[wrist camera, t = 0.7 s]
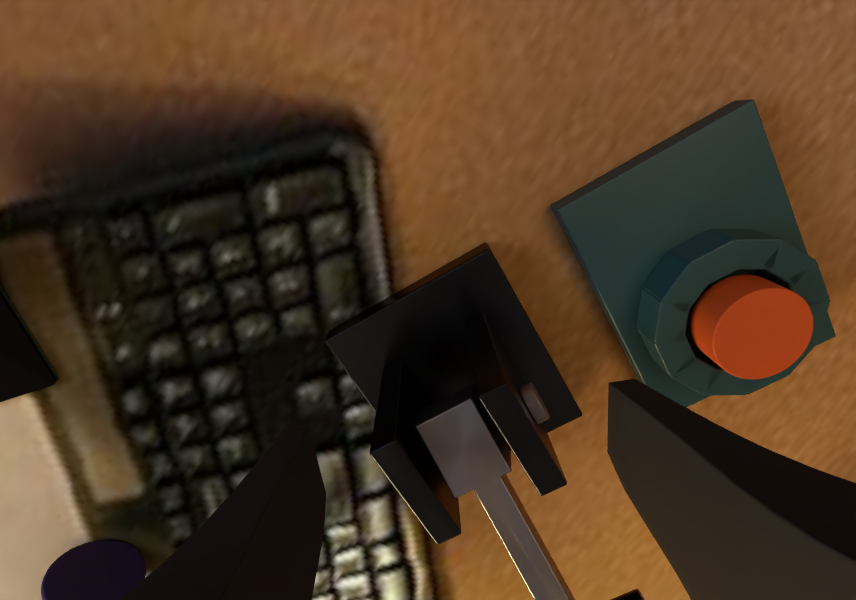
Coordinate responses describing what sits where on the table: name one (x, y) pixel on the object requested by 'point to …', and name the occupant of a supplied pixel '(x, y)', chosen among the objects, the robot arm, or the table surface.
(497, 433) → the switch
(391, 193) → the table surface
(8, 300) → the black angular piece
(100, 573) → the toy lamp
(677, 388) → the button block
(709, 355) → the power button
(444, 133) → the table surface
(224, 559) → the robot arm
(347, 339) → the switch bracket
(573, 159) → the table surface
